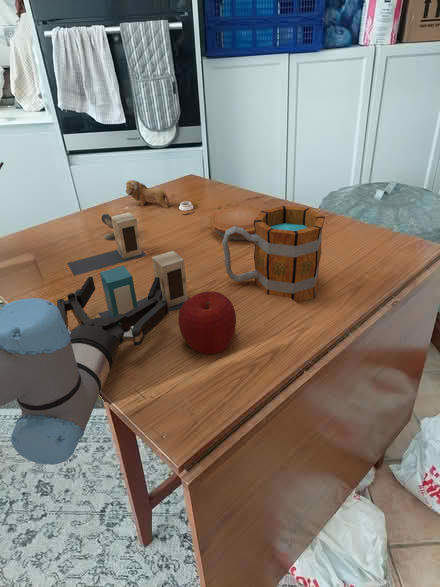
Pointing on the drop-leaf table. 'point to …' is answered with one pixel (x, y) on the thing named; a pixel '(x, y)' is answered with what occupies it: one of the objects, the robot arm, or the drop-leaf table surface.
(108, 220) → the eagle figurine
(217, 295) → the apple
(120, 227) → the letter
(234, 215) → the pie
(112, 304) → the teal upright block
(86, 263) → the board
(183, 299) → the cream upright block
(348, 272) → the drop-leaf table surface
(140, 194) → the lion figurine
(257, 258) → the mug
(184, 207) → the white jar
